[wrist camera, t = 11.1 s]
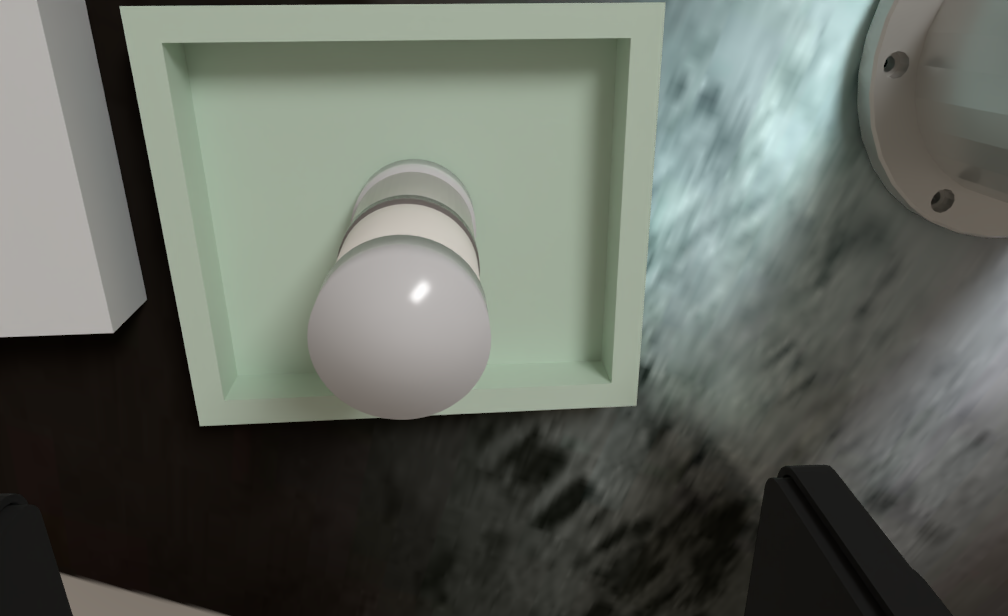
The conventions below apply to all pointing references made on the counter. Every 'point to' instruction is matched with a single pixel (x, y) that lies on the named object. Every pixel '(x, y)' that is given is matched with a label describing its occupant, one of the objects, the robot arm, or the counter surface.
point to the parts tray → (389, 138)
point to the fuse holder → (59, 181)
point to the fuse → (404, 297)
